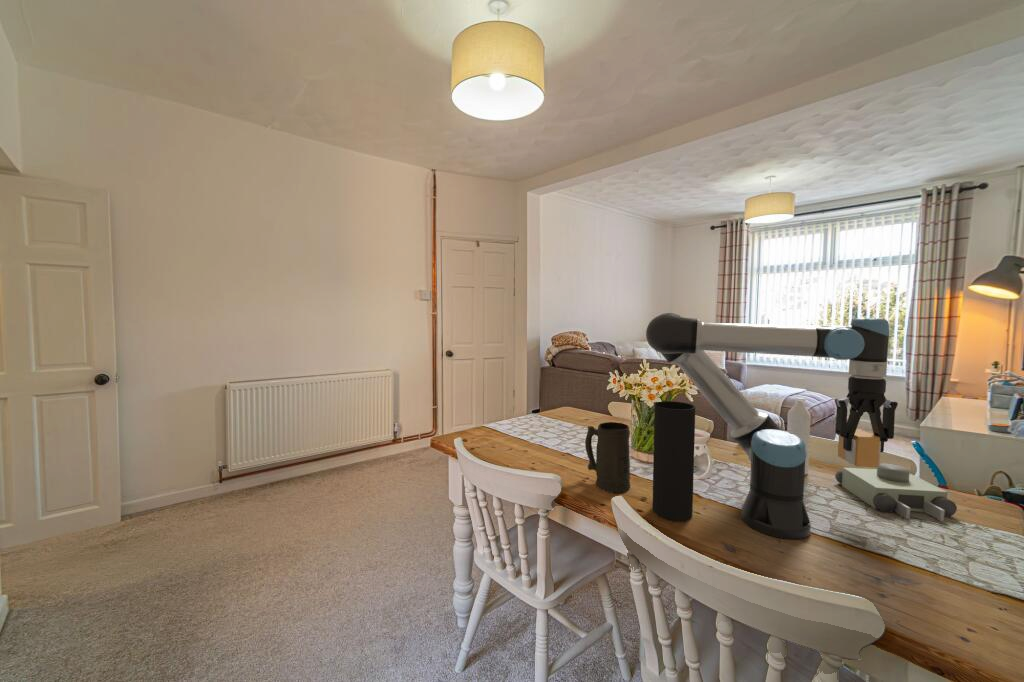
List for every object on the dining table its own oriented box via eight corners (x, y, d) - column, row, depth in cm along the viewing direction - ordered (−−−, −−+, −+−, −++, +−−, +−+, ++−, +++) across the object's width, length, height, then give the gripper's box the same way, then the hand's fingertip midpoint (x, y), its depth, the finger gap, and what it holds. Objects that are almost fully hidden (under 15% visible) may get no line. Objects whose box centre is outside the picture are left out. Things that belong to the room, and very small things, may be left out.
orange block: (856, 466, 108) (858, 436, 107) (837, 456, 116) (839, 428, 115) (878, 467, 107) (879, 437, 106) (857, 456, 115) (859, 429, 114)
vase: (656, 500, 120) (658, 399, 118) (694, 509, 115) (697, 403, 112) (649, 516, 111) (651, 407, 109) (689, 525, 106) (692, 411, 104)
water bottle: (807, 476, 136) (810, 403, 135) (784, 472, 140) (787, 400, 139) (809, 469, 143) (812, 398, 141) (787, 464, 147) (790, 396, 145)
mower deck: (884, 517, 110) (886, 484, 109) (834, 483, 131) (836, 455, 131) (966, 522, 107) (968, 489, 106) (901, 487, 128) (902, 459, 128)
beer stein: (637, 484, 131) (633, 422, 131) (627, 496, 122) (623, 430, 122) (591, 477, 140) (588, 419, 139) (579, 488, 131) (575, 426, 130)
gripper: (837, 378, 105) (833, 466, 107) (918, 379, 102) (912, 470, 104) (820, 374, 113) (816, 456, 114) (895, 375, 110) (890, 459, 111)
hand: (862, 462), depth 109 cm, fingers closed on orange block, 5 cm apart
